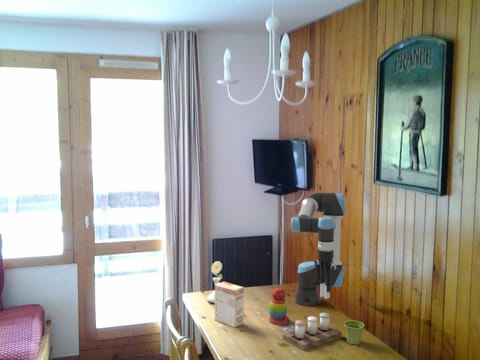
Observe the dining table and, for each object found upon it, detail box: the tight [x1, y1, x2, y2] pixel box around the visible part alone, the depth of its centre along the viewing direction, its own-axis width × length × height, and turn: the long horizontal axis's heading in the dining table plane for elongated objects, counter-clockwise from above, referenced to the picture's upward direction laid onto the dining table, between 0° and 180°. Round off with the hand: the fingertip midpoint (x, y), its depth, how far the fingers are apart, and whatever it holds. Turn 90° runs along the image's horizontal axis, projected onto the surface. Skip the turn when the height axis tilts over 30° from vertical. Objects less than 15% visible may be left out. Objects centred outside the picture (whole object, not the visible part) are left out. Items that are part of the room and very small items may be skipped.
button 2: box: [319, 312, 331, 330], centre depth 217 cm, size 5×5×7 cm
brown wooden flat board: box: [282, 322, 343, 351], centre depth 213 cm, size 25×14×2 cm, turn 125°
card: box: [278, 323, 308, 334], centre depth 224 cm, size 14×6×1 cm, turn 125°
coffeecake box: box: [214, 281, 245, 329], centre depth 231 cm, size 15×7×20 cm, turn 47°
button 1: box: [294, 319, 306, 338], centre depth 208 cm, size 5×5×7 cm
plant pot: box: [343, 319, 365, 345], centre depth 208 cm, size 9×9×9 cm
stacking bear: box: [268, 286, 290, 327], centre depth 232 cm, size 11×10×18 cm
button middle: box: [307, 316, 319, 335], centre depth 212 cm, size 5×5×7 cm
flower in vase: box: [206, 260, 224, 304], centre depth 261 cm, size 13×11×25 cm
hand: (324, 297), depth 216 cm, fingers open, 2 cm apart
